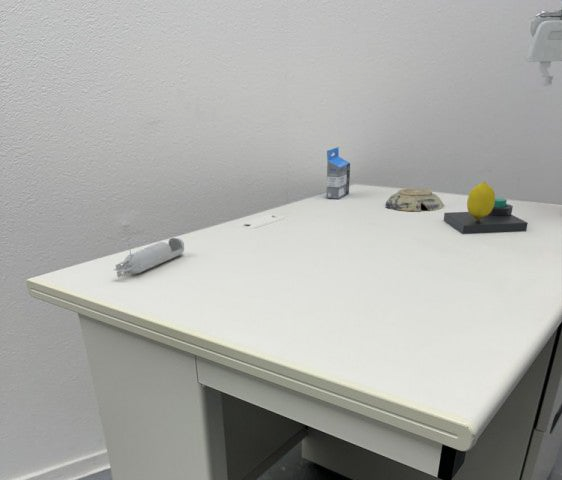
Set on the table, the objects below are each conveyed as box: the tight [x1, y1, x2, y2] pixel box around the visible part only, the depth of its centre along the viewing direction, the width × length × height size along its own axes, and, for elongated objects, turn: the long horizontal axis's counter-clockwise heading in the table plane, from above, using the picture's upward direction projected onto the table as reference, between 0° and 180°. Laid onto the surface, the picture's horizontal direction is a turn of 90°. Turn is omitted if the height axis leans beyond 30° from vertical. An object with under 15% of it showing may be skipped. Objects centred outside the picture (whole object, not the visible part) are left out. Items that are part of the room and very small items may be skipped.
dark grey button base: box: [443, 203, 529, 235], centre depth 121 cm, size 14×12×4 cm
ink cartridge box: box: [325, 146, 351, 200], centre depth 151 cm, size 9×4×12 cm, turn 155°
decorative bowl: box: [385, 187, 444, 213], centre depth 140 cm, size 15×4×15 cm
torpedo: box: [113, 237, 185, 278], centre depth 100 cm, size 18×5×6 cm, turn 152°
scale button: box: [494, 197, 508, 208], centre depth 123 cm, size 3×3×2 cm
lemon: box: [466, 181, 496, 220], centre depth 116 cm, size 6×6×8 cm
